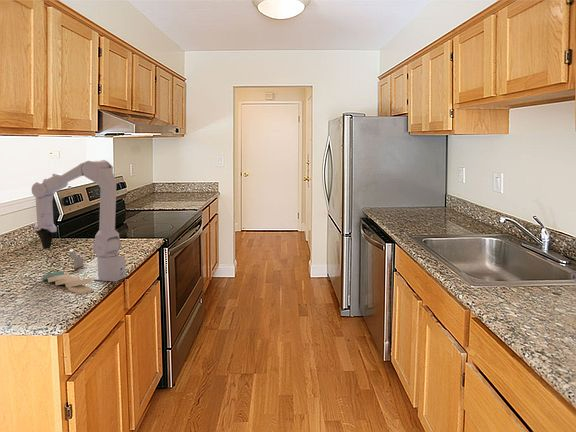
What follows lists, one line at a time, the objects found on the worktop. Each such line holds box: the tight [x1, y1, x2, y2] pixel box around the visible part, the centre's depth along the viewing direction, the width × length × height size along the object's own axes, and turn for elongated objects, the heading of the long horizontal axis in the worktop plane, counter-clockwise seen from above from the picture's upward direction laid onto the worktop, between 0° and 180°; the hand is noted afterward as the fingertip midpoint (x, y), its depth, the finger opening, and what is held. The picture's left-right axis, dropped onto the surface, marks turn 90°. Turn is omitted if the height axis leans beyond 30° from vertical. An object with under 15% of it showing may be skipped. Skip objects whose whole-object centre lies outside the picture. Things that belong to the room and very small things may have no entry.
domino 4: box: [67, 284, 94, 295], centre depth 184 cm, size 2×5×8 cm
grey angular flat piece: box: [68, 249, 84, 269], centre depth 217 cm, size 7×2×8 cm, turn 169°
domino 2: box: [54, 275, 80, 286], centre depth 190 cm, size 2×5×8 cm
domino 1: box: [47, 273, 71, 283], centre depth 193 cm, size 2×5×8 cm
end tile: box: [42, 270, 65, 281], centre depth 197 cm, size 2×5×8 cm
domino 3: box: [64, 277, 93, 289], centre depth 186 cm, size 2×5×8 cm
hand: (46, 248), depth 206 cm, fingers closed
